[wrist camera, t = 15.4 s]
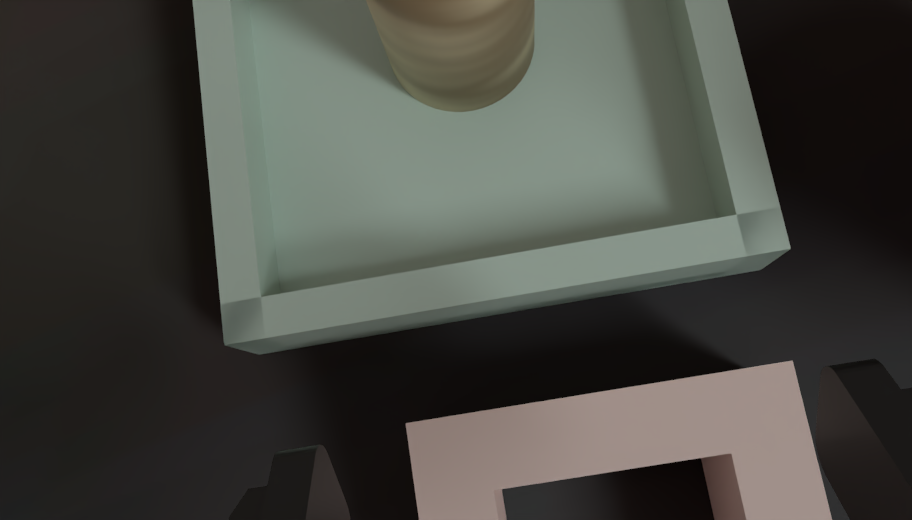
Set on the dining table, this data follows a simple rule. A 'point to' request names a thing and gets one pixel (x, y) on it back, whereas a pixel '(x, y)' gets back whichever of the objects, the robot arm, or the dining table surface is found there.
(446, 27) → the dowel
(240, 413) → the dining table surface
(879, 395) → the robot arm
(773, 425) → the socket block
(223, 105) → the tray
